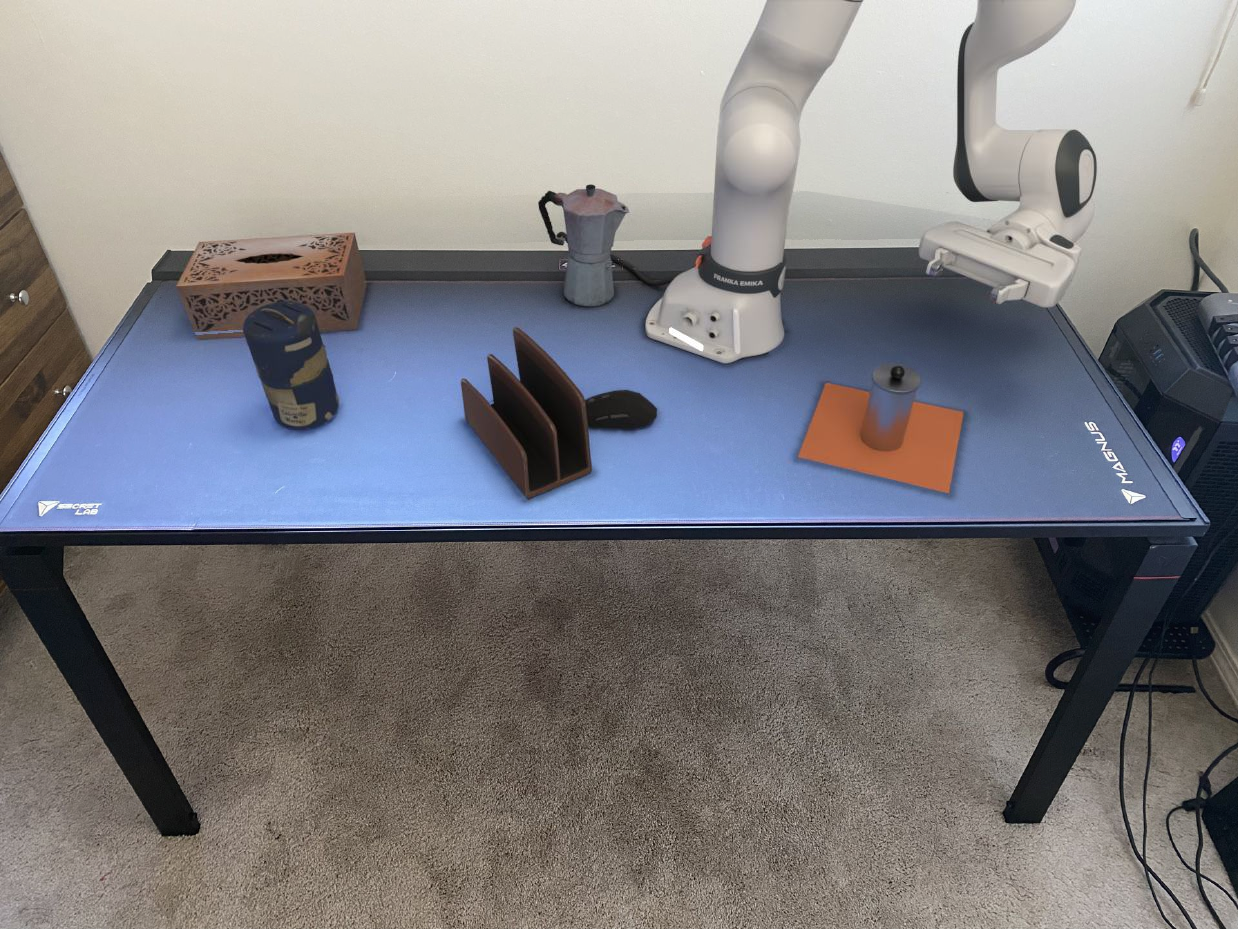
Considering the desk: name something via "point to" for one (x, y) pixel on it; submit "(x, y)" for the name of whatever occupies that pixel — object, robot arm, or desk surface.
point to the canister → (292, 364)
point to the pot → (889, 406)
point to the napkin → (914, 462)
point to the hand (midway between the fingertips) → (962, 283)
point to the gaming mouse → (619, 410)
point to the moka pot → (587, 241)
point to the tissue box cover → (273, 281)
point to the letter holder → (532, 419)
